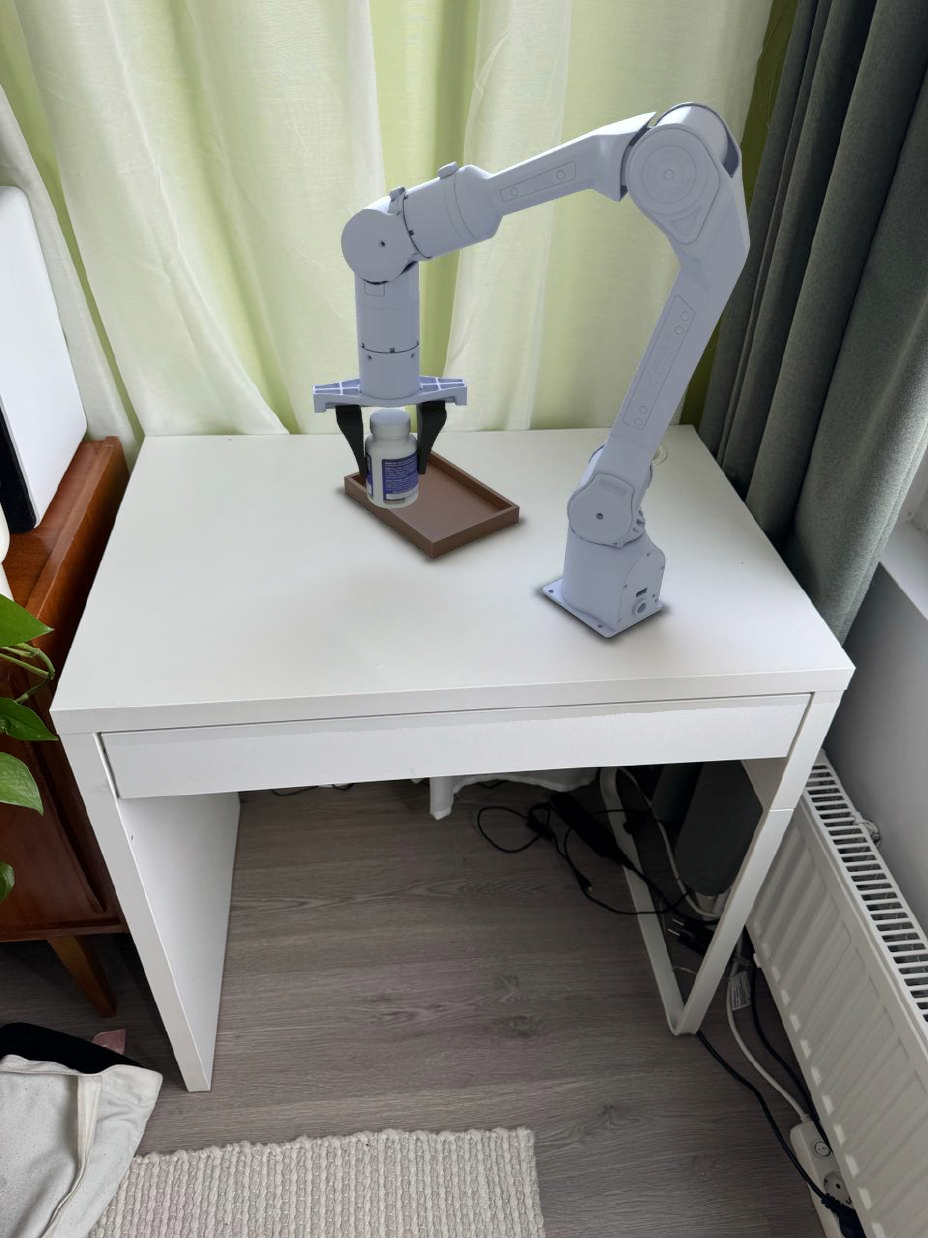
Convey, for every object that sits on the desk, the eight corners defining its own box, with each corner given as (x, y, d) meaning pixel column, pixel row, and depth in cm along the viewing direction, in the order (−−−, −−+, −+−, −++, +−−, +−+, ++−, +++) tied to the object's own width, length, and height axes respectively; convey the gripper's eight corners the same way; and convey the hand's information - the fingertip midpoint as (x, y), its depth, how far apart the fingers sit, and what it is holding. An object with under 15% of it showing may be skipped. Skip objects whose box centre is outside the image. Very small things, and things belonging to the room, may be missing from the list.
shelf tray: (518, 521, 105) (519, 506, 104) (432, 558, 99) (433, 543, 98) (427, 461, 115) (427, 446, 114) (344, 491, 109) (343, 476, 108)
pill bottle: (427, 491, 96) (427, 412, 91) (402, 515, 92) (400, 434, 87) (383, 478, 98) (380, 400, 92) (357, 501, 94) (352, 421, 89)
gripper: (460, 321, 89) (457, 448, 98) (307, 327, 87) (318, 456, 95) (472, 350, 84) (468, 482, 92) (309, 357, 82) (321, 491, 90)
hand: (392, 471), depth 93 cm, fingers closed on pill bottle, 5 cm apart
